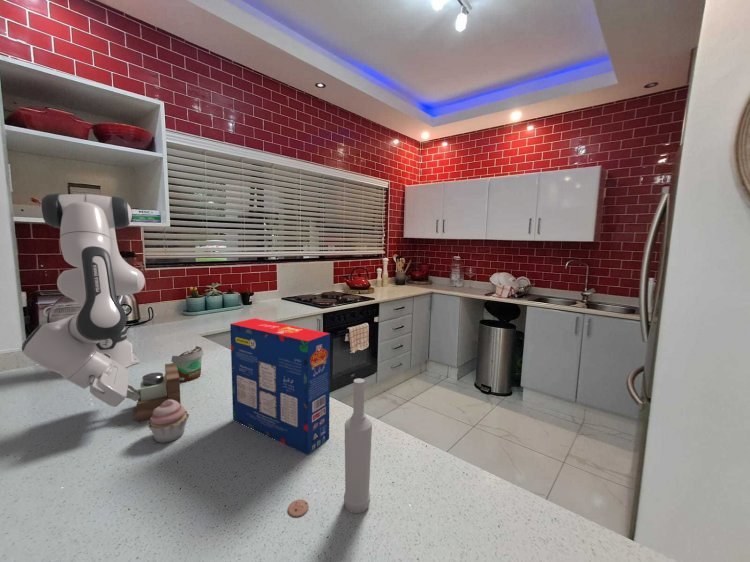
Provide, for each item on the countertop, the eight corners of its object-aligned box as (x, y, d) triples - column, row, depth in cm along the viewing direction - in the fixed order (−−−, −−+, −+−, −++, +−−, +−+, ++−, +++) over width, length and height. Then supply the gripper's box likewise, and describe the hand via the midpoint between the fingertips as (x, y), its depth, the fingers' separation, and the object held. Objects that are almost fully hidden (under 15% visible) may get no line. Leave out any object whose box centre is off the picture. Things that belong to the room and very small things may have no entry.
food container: (187, 385, 115) (186, 357, 113) (172, 383, 116) (171, 356, 115) (211, 372, 127) (210, 346, 125) (197, 370, 128) (196, 345, 127)
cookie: (309, 500, 65) (309, 495, 65) (308, 517, 61) (308, 512, 61) (288, 502, 65) (288, 497, 64) (286, 519, 61) (286, 514, 61)
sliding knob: (142, 405, 99) (140, 373, 98) (165, 400, 103) (164, 369, 101) (142, 416, 94) (139, 382, 92) (167, 410, 97) (165, 377, 96)
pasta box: (329, 438, 86) (329, 333, 82) (307, 455, 79) (307, 341, 76) (256, 408, 100) (254, 318, 97) (233, 420, 93) (230, 323, 90)
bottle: (343, 494, 67) (345, 375, 64) (369, 492, 67) (371, 374, 64) (343, 514, 62) (345, 386, 59) (371, 513, 62) (374, 386, 59)
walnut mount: (134, 404, 101) (132, 369, 100) (177, 395, 107) (175, 362, 106) (133, 425, 90) (130, 386, 88) (181, 414, 96) (179, 377, 95)
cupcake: (145, 451, 79) (142, 411, 78) (150, 431, 87) (148, 395, 86) (190, 441, 83) (188, 403, 82) (191, 423, 91) (189, 388, 90)
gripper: (97, 374, 81) (147, 402, 88) (106, 351, 98) (147, 376, 105) (74, 395, 79) (127, 423, 86) (87, 368, 96) (131, 392, 103)
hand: (138, 397), depth 96 cm, fingers closed, pressing on sliding knob
